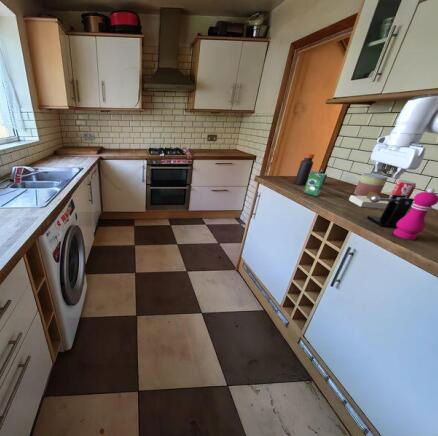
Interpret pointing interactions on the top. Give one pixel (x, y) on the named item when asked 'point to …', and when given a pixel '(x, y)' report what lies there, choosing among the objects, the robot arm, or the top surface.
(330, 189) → the top surface
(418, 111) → the robot arm
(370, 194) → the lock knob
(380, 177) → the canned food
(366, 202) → the plate
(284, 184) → the top surface
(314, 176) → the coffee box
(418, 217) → the pepper mill
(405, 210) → the latch bracket
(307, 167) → the bottle
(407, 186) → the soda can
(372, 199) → the metal spoon
